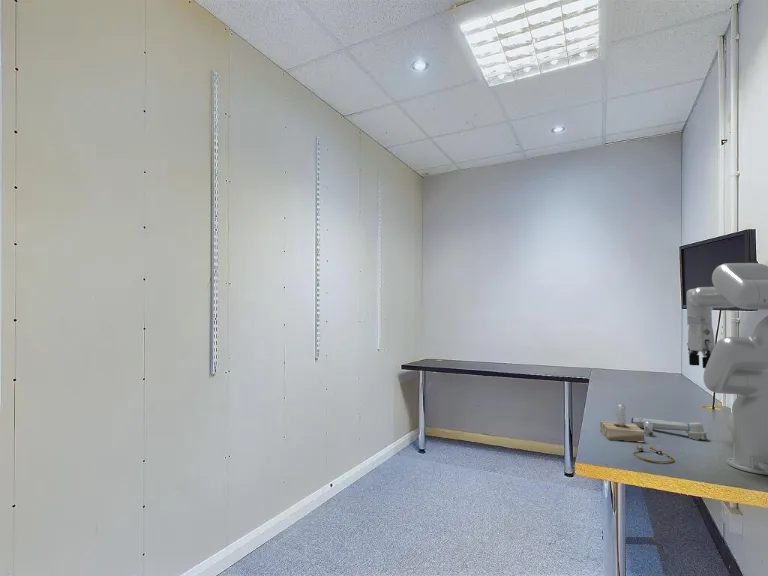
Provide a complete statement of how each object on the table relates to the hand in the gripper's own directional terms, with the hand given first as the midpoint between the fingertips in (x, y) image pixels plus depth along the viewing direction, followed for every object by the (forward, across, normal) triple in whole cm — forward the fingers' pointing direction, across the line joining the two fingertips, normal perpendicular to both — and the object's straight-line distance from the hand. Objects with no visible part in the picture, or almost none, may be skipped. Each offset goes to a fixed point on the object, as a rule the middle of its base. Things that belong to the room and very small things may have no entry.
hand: (700, 366), depth 159 cm
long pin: (+27, -3, +29) cm, 40 cm away
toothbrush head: (+28, +8, +9) cm, 30 cm away
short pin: (+27, +3, +18) cm, 33 cm away
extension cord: (+28, -24, +26) cm, 45 cm away
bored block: (+27, -3, +29) cm, 40 cm away
